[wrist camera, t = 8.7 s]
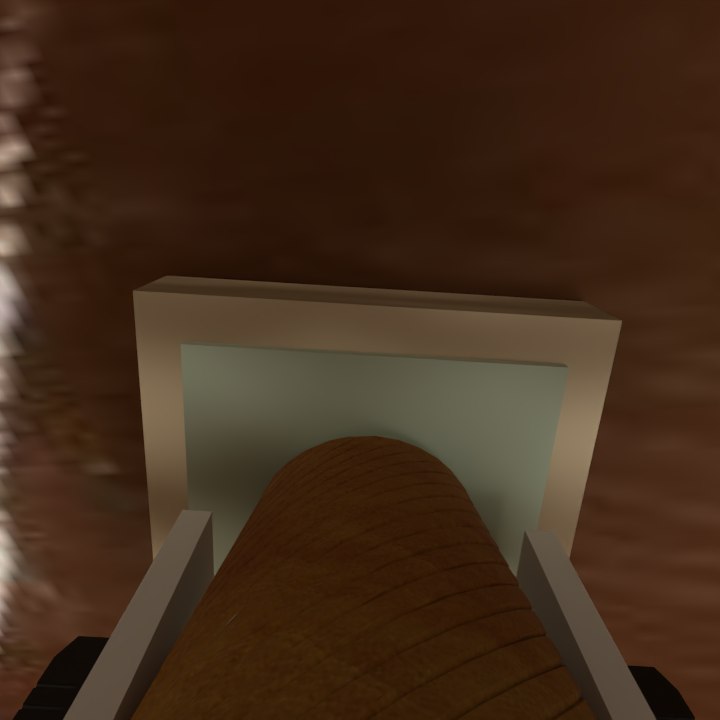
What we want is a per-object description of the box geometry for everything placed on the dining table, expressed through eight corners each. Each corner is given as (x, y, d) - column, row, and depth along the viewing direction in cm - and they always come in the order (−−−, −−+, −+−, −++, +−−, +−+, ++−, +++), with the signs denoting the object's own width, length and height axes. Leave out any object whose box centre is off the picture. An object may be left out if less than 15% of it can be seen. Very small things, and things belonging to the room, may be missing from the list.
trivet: (166, 275, 16) (127, 292, 14) (584, 301, 16) (627, 323, 14) (185, 611, 20) (157, 675, 18) (519, 629, 20) (543, 696, 18)
